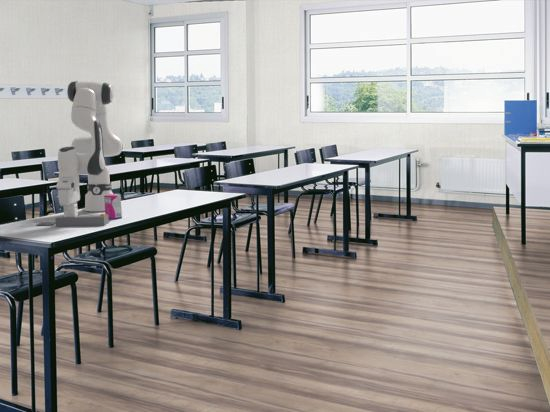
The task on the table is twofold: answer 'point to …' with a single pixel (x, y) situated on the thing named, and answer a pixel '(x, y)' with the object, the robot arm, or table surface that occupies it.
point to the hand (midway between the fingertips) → (70, 213)
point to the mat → (46, 224)
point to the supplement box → (113, 206)
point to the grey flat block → (83, 220)
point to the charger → (72, 210)
